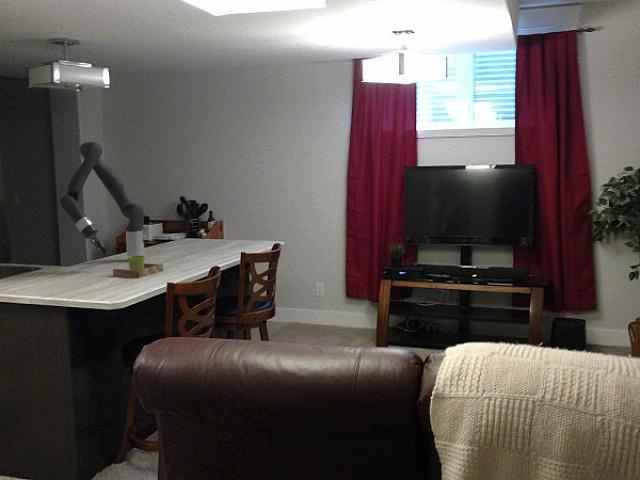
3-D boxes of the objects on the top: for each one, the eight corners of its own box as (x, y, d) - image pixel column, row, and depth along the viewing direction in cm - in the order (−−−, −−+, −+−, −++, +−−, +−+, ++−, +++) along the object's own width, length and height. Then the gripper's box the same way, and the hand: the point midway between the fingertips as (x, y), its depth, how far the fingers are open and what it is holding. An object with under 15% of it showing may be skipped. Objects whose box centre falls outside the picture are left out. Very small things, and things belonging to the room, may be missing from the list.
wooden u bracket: (138, 269, 326) (138, 263, 325) (162, 271, 320) (162, 264, 320) (113, 276, 307) (112, 269, 306) (138, 278, 301) (138, 271, 301)
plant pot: (131, 275, 308) (131, 258, 306) (124, 273, 315) (123, 256, 314) (149, 273, 313) (148, 256, 312) (141, 271, 321) (141, 254, 320)
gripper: (87, 222, 315) (108, 248, 314) (97, 224, 328) (116, 249, 327) (76, 231, 314) (96, 257, 314) (85, 233, 328) (105, 258, 327)
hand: (106, 253), depth 321 cm, fingers closed
